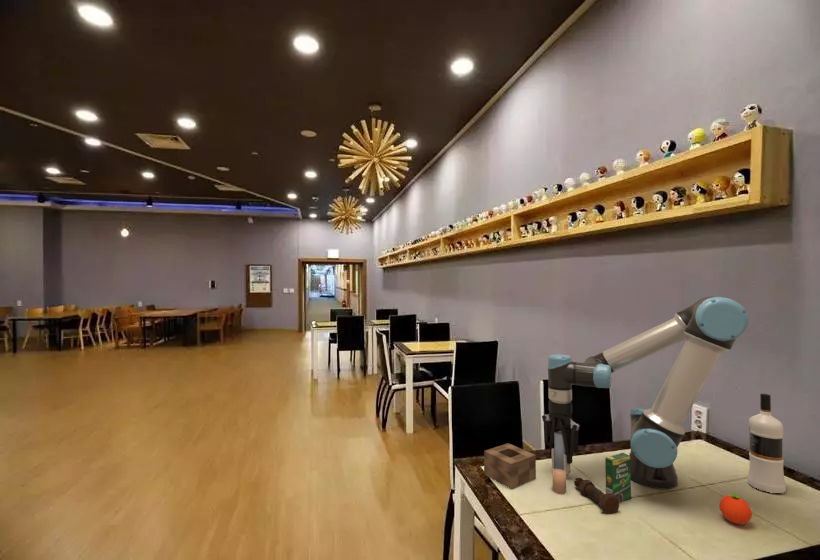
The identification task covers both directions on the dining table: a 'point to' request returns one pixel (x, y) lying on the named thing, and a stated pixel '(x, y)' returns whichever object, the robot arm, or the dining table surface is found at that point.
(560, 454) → the long dowel
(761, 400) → the vodka
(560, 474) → the short dowel
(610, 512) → the bolt
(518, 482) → the hole block
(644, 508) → the dining table surface
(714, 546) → the dining table surface
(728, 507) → the clementine
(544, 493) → the dining table surface
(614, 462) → the coffee box
